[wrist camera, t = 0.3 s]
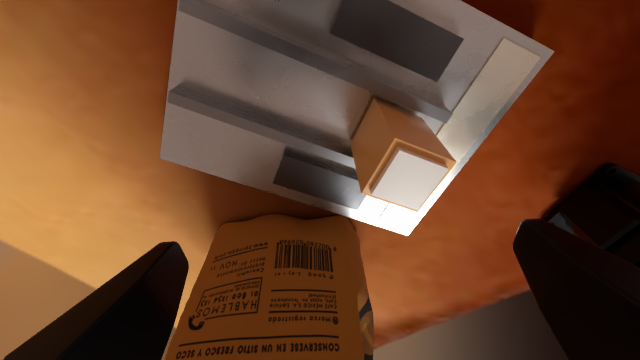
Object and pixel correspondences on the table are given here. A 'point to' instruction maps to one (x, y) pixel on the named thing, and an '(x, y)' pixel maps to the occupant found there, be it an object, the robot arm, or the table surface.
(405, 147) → the block
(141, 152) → the table surface
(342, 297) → the coffee package
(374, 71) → the panel
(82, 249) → the table surface
